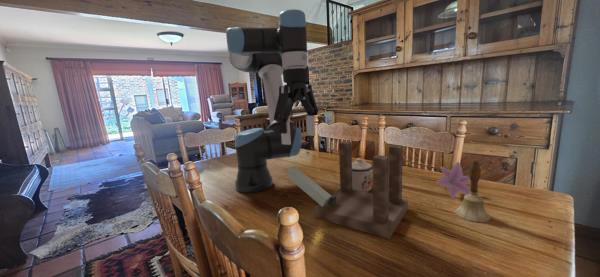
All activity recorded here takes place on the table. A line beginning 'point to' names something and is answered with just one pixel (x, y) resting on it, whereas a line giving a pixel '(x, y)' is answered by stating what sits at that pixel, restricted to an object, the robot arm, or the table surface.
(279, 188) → the table surface
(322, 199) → the folding leg
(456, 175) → the lily
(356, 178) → the teacup with lid
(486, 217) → the hand bell
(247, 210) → the table surface
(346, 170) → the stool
